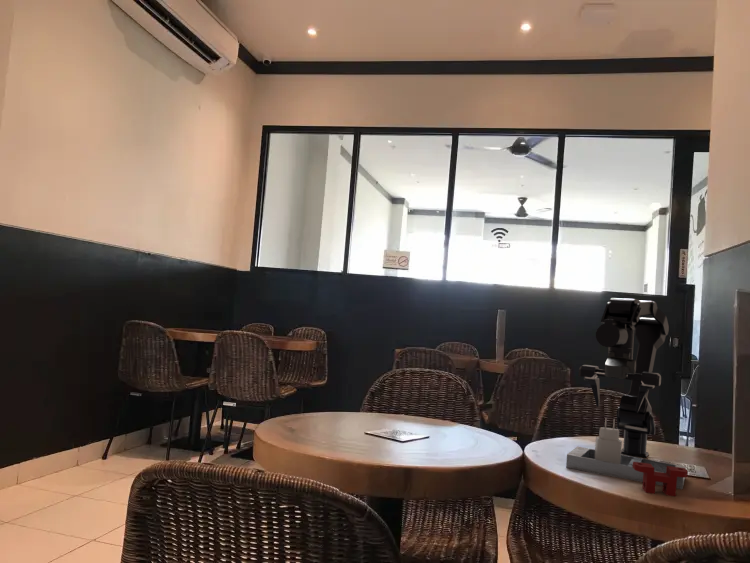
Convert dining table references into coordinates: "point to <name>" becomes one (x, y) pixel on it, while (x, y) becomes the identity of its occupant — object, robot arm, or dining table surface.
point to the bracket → (660, 477)
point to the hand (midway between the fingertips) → (617, 409)
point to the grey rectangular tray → (615, 466)
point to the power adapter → (608, 445)
